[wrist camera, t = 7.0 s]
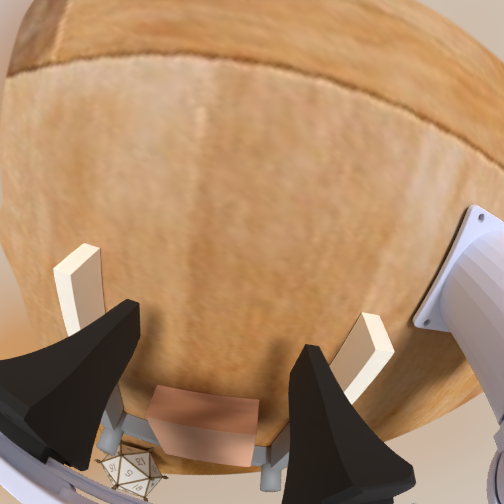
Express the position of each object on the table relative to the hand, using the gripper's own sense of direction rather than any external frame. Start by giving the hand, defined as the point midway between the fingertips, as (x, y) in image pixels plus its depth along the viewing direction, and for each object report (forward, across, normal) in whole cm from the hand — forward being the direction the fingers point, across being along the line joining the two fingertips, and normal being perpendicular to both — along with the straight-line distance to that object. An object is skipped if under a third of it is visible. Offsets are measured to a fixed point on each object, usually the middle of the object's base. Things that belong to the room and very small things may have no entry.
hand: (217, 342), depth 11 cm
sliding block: (+4, -1, +14) cm, 14 cm away
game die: (+4, +7, +29) cm, 30 cm away
